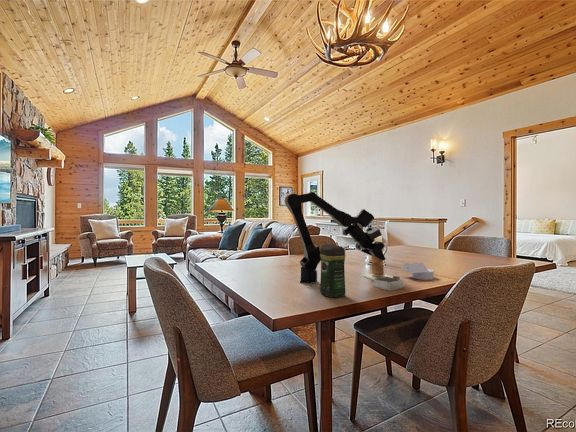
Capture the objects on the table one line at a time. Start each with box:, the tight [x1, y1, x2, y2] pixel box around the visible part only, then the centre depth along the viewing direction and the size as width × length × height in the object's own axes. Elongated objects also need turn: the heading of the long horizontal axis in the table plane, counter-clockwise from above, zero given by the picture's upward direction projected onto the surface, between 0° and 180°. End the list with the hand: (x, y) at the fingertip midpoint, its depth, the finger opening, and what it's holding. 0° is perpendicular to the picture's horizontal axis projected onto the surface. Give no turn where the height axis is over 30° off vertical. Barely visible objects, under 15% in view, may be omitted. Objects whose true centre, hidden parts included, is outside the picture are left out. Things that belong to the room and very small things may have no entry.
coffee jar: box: [319, 243, 346, 298], centre depth 111 cm, size 10×8×19 cm
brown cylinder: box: [371, 248, 385, 277], centre depth 137 cm, size 6×6×13 cm
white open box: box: [373, 275, 404, 292], centre depth 121 cm, size 10×8×4 cm
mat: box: [360, 273, 393, 282], centre depth 137 cm, size 11×11×1 cm
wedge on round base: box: [400, 262, 435, 281], centre depth 137 cm, size 9×7×13 cm
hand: (381, 258), depth 137 cm, fingers open, 6 cm apart
